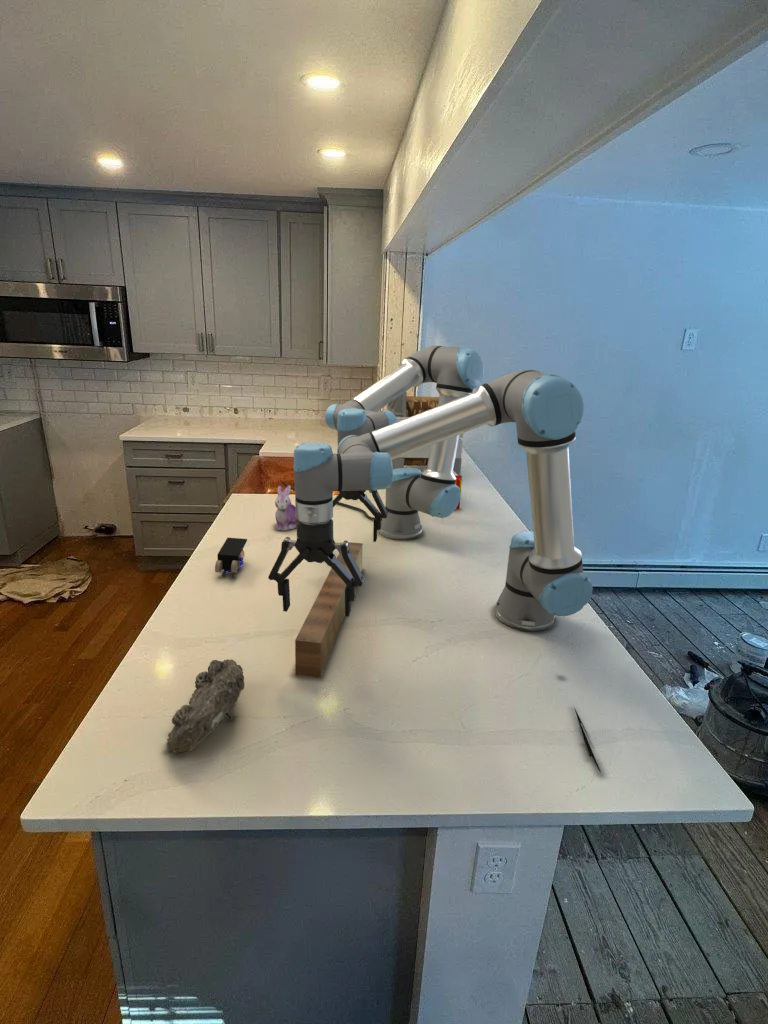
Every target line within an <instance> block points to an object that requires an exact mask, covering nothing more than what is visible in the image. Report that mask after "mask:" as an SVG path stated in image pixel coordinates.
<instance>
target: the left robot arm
mask: <svg viewBox="0 0 768 1024" xmlns="http://www.w3.org/2000/svg"><path fill="white" fill-rule="evenodd" d="M484 374H485V366H484V361H483V359H482V356H481V354H480V353H479V352H478V351H477V350H475V349H473V348H467V347H458V346H457V347H456V346H445V345H431V346H428V347H425V348H422V349H420V350H418V351H416V352H413V353H412V354H410V355H408V356H407V357H405V358H404V359H403V360H401V362H400V363H399V366H398V367H396V368H395V369H393V370H392V371H391V372H389V373H388V374H386V375H384V376H382V378H380V379H378V381H376V382H374V383H372V384H371V385H370V386H369V387H367V388H365V389H364V390H363V391H361V392H359V394H357V395H356V396H354V397H352V398H351V399H349V400H348V401H347V402H345V403H343V404H341V403H333V404H331V405H329V406H328V408H327V409H326V411H325V414H324V420H325V423H326V424H325V425H327V427H328V428H330V429H332V430H334V431H337V432H336V433H337V434H336V435H337V446H338V445H339V443H340V442H341V440H342V439H343V438H345V437H347V436H349V435H357V436H361V435H364V434H366V433H370V432H372V431H375V430H377V429H380V428H383V427H385V426H388V425H391V424H393V423H396V422H398V421H397V418H396V416H395V415H394V414H393V413H392V412H390V411H387V410H382V409H384V408H386V407H387V405H388V404H389V403H390V402H392V401H393V400H394V399H396V398H397V397H399V396H400V395H401V394H403V393H404V392H406V393H407V391H408V390H410V389H412V388H417V387H419V386H421V385H422V384H425V383H435V384H436V386H435V391H437V392H438V394H439V396H438V397H439V402H438V406H440V405H443V404H446V403H448V402H451V401H454V400H456V399H459V398H461V397H464V396H467V395H469V394H472V393H474V392H473V391H474V389H477V387H478V386H480V385H481V383H482V382H483V380H484V379H483V378H484ZM459 436H460V434H459V435H457V436H454V437H451V438H449V439H446V440H443V441H441V442H438V443H435V444H433V445H431V447H430V453H429V459H428V464H427V466H426V468H425V469H423V471H422V470H421V469H420V468H416V467H404V468H398V469H394V470H393V479H392V484H391V486H390V487H389V488H387V489H385V504H384V502H383V500H382V498H381V496H380V493H379V491H378V490H375V491H372V490H368V492H369V494H371V496H372V498H373V500H374V502H375V504H376V506H377V507H376V506H375V505H374V503H373V502H372V501H371V500H370V499H369V497H368V495H367V494H366V491H367V490H362V491H338V494H337V495H336V497H335V498H333V508H334V507H335V506H336V505H339V506H343V507H345V508H349V509H353V510H356V511H359V512H360V513H362V514H363V515H364V517H366V518H367V519H368V520H372V521H373V529H372V533H373V534H372V535H373V536H372V537H373V538H372V542H373V543H376V542H377V540H378V533H379V534H380V535H381V536H382V537H385V538H387V539H389V540H395V541H410V540H415V539H418V538H420V537H421V536H422V535H423V525H422V524H421V518H420V515H419V512H420V513H423V514H426V515H429V516H431V517H435V518H440V519H445V518H448V517H450V516H451V515H452V514H453V513H454V512H455V510H457V509H456V507H457V506H458V504H459V501H460V502H461V500H460V496H461V497H462V491H461V492H460V488H459V487H458V486H457V485H455V483H456V477H455V476H454V474H453V468H454V463H455V457H456V452H457V447H458V441H459ZM280 484H282V485H284V486H285V488H286V487H287V486H288V485H289V484H288V483H286V482H285V481H283V480H281V481H280ZM291 490H292V491H294V492H295V487H293V486H291ZM342 499H344V500H345V501H348V500H350V501H358V500H359V501H360V502H361V503H362V504H363V505H364V506H365V507H366V509H367V510H368V511H369V512H370V513H371V515H372V516H370V515H368V513H367V511H365V510H364V509H362V508H360V507H358V506H354V505H350V504H347V503H345V502H341V500H342ZM373 516H374V517H373Z"/></svg>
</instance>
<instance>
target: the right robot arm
mask: <svg viewBox="0 0 768 1024" xmlns="http://www.w3.org/2000/svg"><path fill="white" fill-rule="evenodd" d="M475 389H476V390H475V391H474V392H472V394H469V395H467V396H464V397H461V398H459V399H456V400H454V401H451V402H448V403H446V404H443V405H440V406H438V407H435V408H433V409H430V410H427V411H425V412H422V413H419V414H417V415H414V416H412V417H409V418H406V419H404V420H401V421H398V422H396V423H393V424H391V425H388V426H385V427H383V428H380V429H377V430H375V431H372V432H370V433H366V434H364V435H361V436H357V435H349V436H347V437H345V438H343V439H342V440H341V442H340V443H339V445H338V444H337V449H336V453H334V452H333V448H332V446H331V445H330V444H329V443H326V442H317V441H310V442H303V443H300V444H298V445H297V446H295V448H294V451H293V481H294V488H295V491H294V499H295V500H294V502H295V505H294V506H295V507H296V518H297V519H298V520H297V521H296V528H295V529H296V539H291V538H290V537H289V536H286V537H285V538H284V539H282V540H283V541H282V542H281V547H280V552H279V554H278V556H277V558H276V560H275V561H274V565H273V566H272V568H271V570H270V572H269V574H268V580H269V581H275V582H276V584H277V594H278V596H279V597H282V611H283V612H285V613H287V612H288V610H289V609H290V607H291V593H290V592H291V591H290V578H287V577H289V575H290V574H291V573H293V571H294V570H295V569H296V568H297V567H298V565H300V564H301V563H302V562H303V561H306V562H307V563H318V564H323V563H325V564H326V565H327V566H328V567H330V569H331V568H332V569H333V570H334V571H335V572H336V573H337V575H338V576H339V577H340V578H341V579H342V580H343V581H344V583H345V584H346V588H345V616H344V617H350V614H351V611H352V602H354V601H355V599H356V596H357V587H360V588H361V587H363V585H364V583H365V577H364V575H363V573H362V571H360V569H359V567H358V565H357V563H356V561H355V560H354V558H353V556H352V554H351V552H350V549H349V542H350V541H348V540H344V541H343V542H335V540H334V519H333V518H334V507H333V500H334V498H333V497H334V496H333V493H334V492H339V491H362V490H366V491H369V490H372V491H375V490H377V491H380V490H386V489H387V488H389V487H390V486H391V484H392V479H393V466H392V460H393V459H396V458H398V457H401V456H404V455H406V454H409V453H412V452H414V451H417V450H420V449H422V448H425V447H428V446H430V445H433V444H435V443H438V442H441V441H443V440H446V439H449V438H451V437H454V436H457V435H459V434H462V433H463V434H464V433H467V432H470V431H472V430H476V429H478V428H480V427H484V426H486V425H487V426H489V427H496V426H498V425H501V424H504V423H505V424H507V423H515V426H516V438H517V445H518V446H519V447H521V448H522V449H523V450H525V454H526V464H527V465H526V466H527V477H528V487H529V499H530V511H531V521H532V522H531V523H532V531H521V532H517V533H515V534H514V535H512V537H511V539H510V544H509V546H508V547H509V549H508V550H509V551H508V559H507V561H508V562H507V568H506V574H505V575H506V576H505V585H504V587H503V589H502V590H501V593H500V595H499V597H498V599H497V601H496V603H495V607H494V615H495V617H496V619H497V620H498V621H499V622H501V623H502V624H504V625H505V626H508V627H510V628H512V629H516V630H520V631H525V632H540V631H546V630H548V629H550V628H551V627H552V626H553V625H554V623H555V619H556V617H568V616H572V615H575V614H577V613H578V612H580V611H581V610H583V608H584V607H585V606H586V605H587V604H588V603H589V602H590V600H591V598H592V595H593V591H594V589H593V583H592V581H591V579H590V577H589V576H588V575H586V574H585V573H584V565H583V553H582V551H581V550H580V548H577V547H576V546H575V535H574V520H573V518H574V517H573V502H572V501H573V500H572V485H571V484H572V483H571V467H570V452H569V447H570V445H571V444H572V443H574V441H575V440H576V438H577V437H576V435H577V433H576V431H577V429H578V427H579V425H580V424H581V423H582V421H583V417H584V413H585V403H584V398H583V395H582V393H581V391H580V390H579V388H578V387H577V386H576V385H575V384H574V383H573V382H571V381H570V380H568V379H566V378H564V377H562V376H561V375H560V376H559V375H557V374H549V373H545V372H541V371H539V370H533V369H521V370H517V371H514V372H511V373H508V374H506V375H503V376H500V377H498V378H495V379H493V380H490V381H488V382H485V383H482V384H480V385H479V386H478V387H477V388H475ZM293 548H295V549H296V551H297V552H298V554H297V555H296V557H295V558H294V559H293V560H292V561H291V562H290V563H289V564H288V566H287V567H286V568H284V570H283V571H282V572H281V573H279V571H280V569H281V567H282V565H283V563H284V561H285V559H286V557H287V555H288V553H289V551H291V550H292V549H293ZM335 550H337V552H338V554H339V553H340V554H342V557H343V559H344V561H345V563H346V565H347V567H348V569H349V571H350V572H351V574H352V575H351V574H350V573H349V572H348V571H347V569H346V568H345V567H344V566H343V565H342V564H341V563H340V561H339V560H338V559H337V555H336V554H335V553H334V551H335Z"/></svg>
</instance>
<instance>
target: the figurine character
mask: <svg viewBox="0 0 768 1024" xmlns="http://www.w3.org/2000/svg"><path fill="white" fill-rule="evenodd" d="M247 542H248V538H240V537H226V539H225V541H224V543H223V544H222V546H221V547H220V549H219V551H218V552H217V560H216V562H215V564H214V572H215V573H221V577H222V578H224V577H225V576H226V574H227V573H230V574H231V573H232V574H231V578H234V577H235V575H236V573H237V572H239V571H240V567H242V566H243V565H244V564H245V562H244V558H245V551H244V547H245V546H246V544H247Z"/></svg>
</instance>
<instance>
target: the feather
mask: <svg viewBox="0 0 768 1024" xmlns="http://www.w3.org/2000/svg"><path fill="white" fill-rule="evenodd" d="M561 678H563V676H561ZM574 711H575V714H576V718H577V722H578V725H579V729H580V733H581V735H582V739H583V741H584V744H585V747H586V750H587V753H588V757H589V759H590V761H591V764H592V763H593V762H594V763H595V765H596V767H597V770H599V772H600V773H601V768H600V767H599V764H600V763H601V762H602V761H599V760H600V759H599V758H597V759H598V761H599V762H600V763H599V764H598V762H597V759H596V757H595V754H594V752H593V750H592V748H593V749H595V746H594V744H593V742H590V741H589V739H588V737H589V734H588V731H587V729H586V727H585V726H584V723H583V722H582V719H581V717H580V716H579V714H578V712H577V710H576V709H574ZM590 744H591V745H590ZM591 746H592V747H591ZM591 758H592V759H591ZM592 760H593V761H592ZM601 764H602V763H601ZM592 766H593V764H592Z"/></svg>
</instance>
